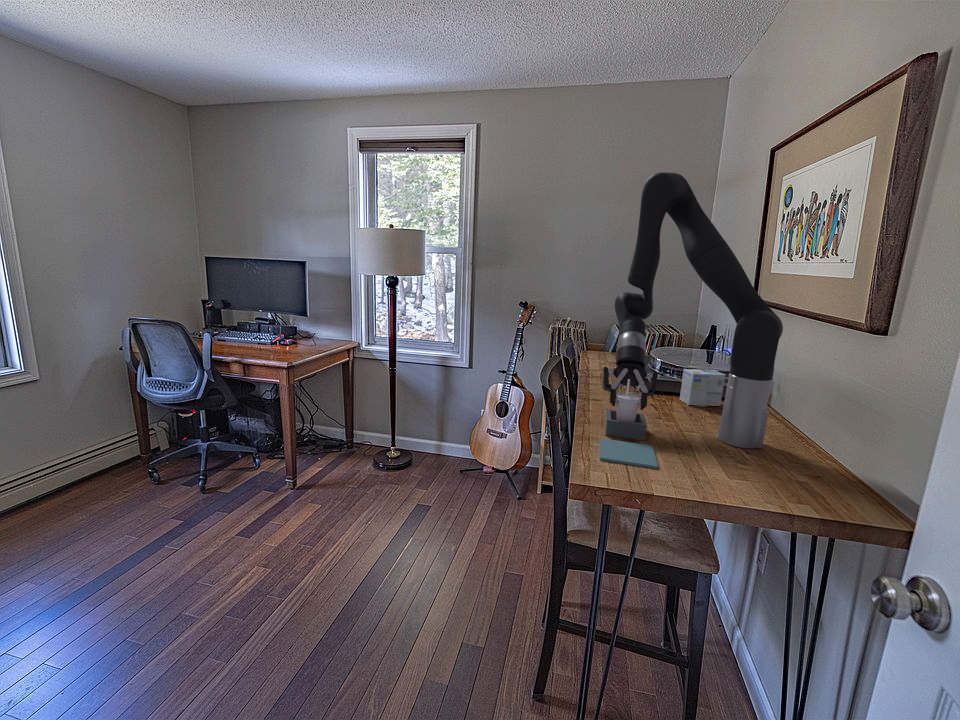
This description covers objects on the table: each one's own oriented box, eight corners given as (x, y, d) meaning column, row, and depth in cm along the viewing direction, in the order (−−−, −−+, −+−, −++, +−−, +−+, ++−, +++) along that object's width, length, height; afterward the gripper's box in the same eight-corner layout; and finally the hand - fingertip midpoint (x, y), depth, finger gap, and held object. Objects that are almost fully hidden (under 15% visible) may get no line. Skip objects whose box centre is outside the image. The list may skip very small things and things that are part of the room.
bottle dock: (641, 427, 124) (643, 413, 123) (644, 440, 115) (647, 425, 114) (604, 423, 126) (606, 408, 125) (605, 435, 117) (607, 420, 116)
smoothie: (606, 428, 122) (612, 376, 119) (625, 426, 125) (632, 375, 122) (622, 437, 117) (629, 383, 114) (642, 434, 119) (649, 381, 116)
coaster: (651, 447, 111) (652, 445, 111) (657, 468, 99) (658, 466, 99) (600, 440, 114) (600, 438, 113) (600, 460, 102) (600, 457, 102)
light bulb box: (709, 401, 154) (714, 369, 152) (720, 407, 147) (726, 374, 145) (678, 400, 153) (683, 368, 151) (688, 406, 146) (693, 373, 144)
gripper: (604, 341, 125) (599, 395, 116) (661, 346, 121) (660, 403, 113) (602, 357, 131) (597, 409, 122) (656, 362, 128) (655, 417, 119)
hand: (627, 406), depth 118 cm, fingers closed on smoothie, 6 cm apart
